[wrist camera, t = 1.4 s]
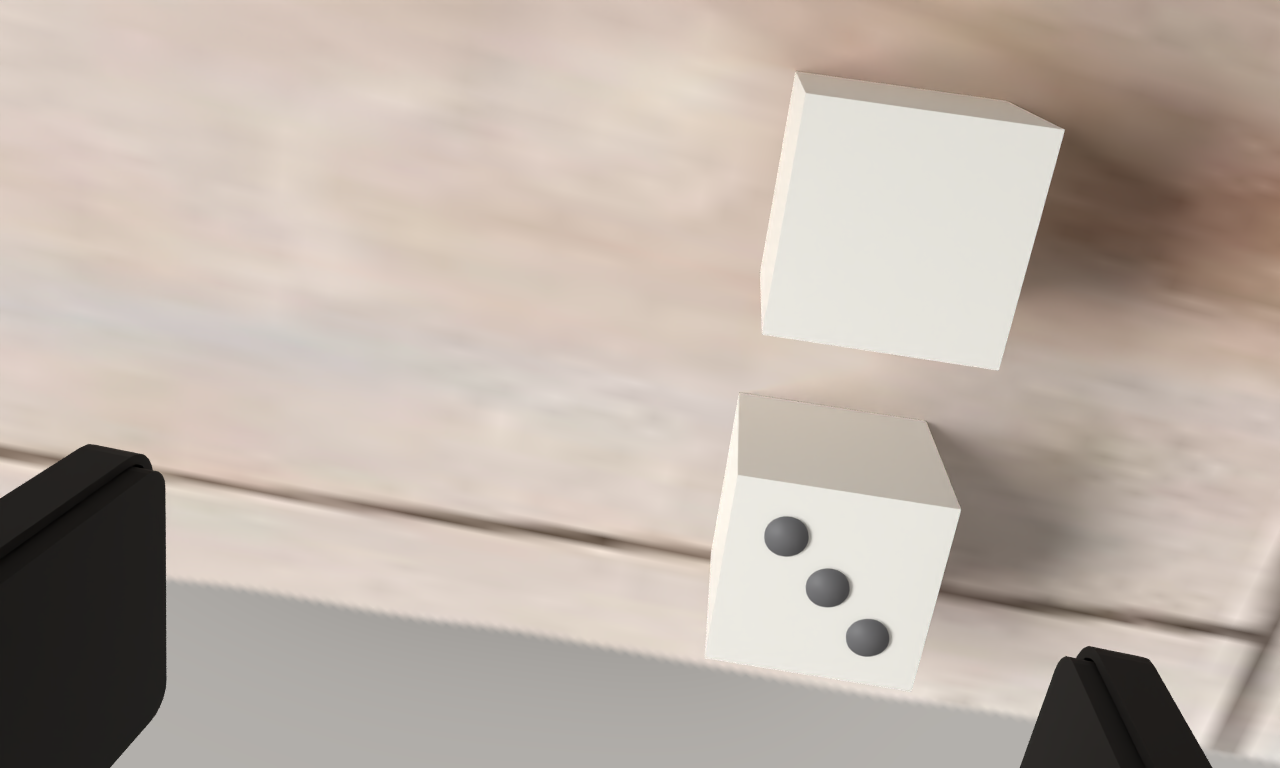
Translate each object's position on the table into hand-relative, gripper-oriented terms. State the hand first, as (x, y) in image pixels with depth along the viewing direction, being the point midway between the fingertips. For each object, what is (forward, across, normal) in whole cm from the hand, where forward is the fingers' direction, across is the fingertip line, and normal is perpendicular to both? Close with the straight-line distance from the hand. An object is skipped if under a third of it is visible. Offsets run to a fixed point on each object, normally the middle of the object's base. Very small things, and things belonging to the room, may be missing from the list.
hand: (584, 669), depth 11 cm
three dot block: (+23, -5, +8) cm, 25 cm away
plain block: (+23, -5, -2) cm, 23 cm away
